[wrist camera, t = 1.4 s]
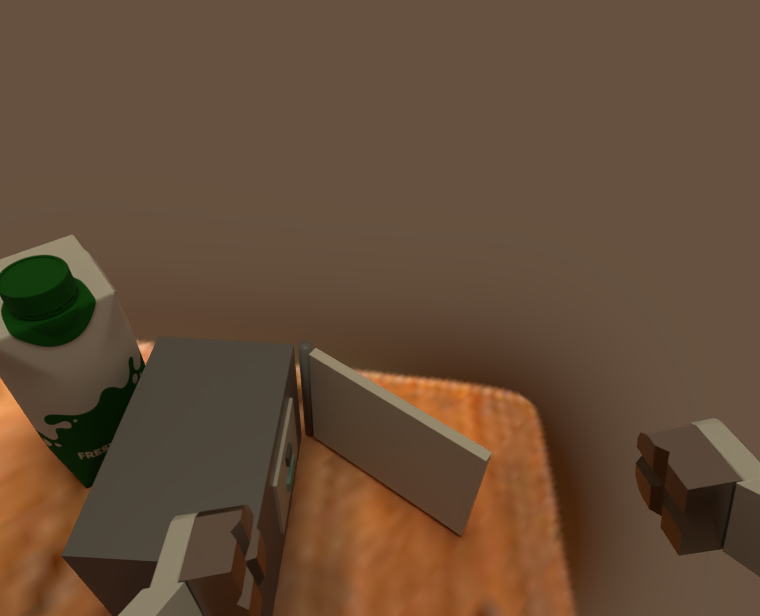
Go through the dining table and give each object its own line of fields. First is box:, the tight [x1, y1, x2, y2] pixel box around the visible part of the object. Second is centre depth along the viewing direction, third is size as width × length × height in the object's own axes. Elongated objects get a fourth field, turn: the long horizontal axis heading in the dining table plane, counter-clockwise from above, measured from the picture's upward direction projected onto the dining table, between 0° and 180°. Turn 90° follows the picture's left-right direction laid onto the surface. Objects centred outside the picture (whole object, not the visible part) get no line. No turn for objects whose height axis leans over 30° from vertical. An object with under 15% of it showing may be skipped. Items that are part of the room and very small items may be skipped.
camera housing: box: [62, 336, 301, 616], centre depth 40 cm, size 18×10×12 cm, turn 178°
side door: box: [298, 341, 492, 536], centre depth 43 cm, size 16×1×11 cm, turn 55°
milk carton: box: [0, 235, 145, 488], centre depth 42 cm, size 9×9×20 cm
